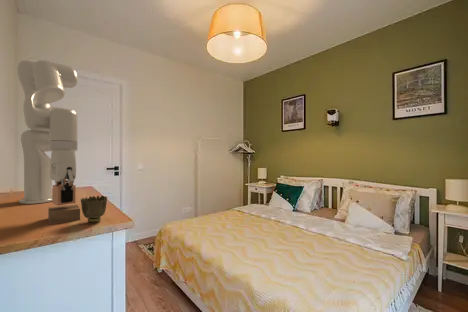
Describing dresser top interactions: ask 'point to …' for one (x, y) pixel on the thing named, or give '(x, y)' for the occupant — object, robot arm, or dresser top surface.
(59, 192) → the terracotta block
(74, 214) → the walnut block
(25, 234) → the dresser top surface
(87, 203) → the cup
